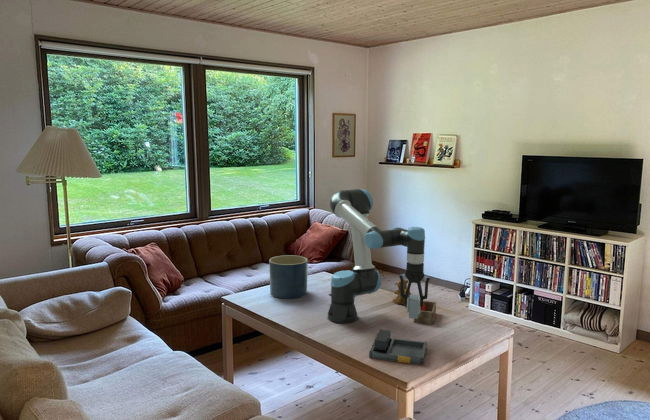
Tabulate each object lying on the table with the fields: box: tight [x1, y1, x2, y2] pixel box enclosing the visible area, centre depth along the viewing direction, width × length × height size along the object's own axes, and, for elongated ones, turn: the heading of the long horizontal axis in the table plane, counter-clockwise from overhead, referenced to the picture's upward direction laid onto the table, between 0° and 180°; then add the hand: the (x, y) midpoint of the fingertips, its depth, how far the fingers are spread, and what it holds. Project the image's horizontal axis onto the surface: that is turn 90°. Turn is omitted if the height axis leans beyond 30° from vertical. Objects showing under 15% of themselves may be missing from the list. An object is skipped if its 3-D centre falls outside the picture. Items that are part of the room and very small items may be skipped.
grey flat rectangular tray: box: [368, 328, 428, 366], centre depth 208 cm, size 22×18×7 cm
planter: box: [268, 254, 309, 300], centre depth 286 cm, size 22×22×20 cm
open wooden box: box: [413, 300, 437, 325], centre depth 250 cm, size 9×16×6 cm, turn 164°
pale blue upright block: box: [408, 294, 419, 320], centre depth 221 cm, size 4×12×7 cm, turn 170°
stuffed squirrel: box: [391, 279, 413, 307], centre depth 270 cm, size 10×14×13 cm
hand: (413, 312), depth 222 cm, fingers closed on pale blue upright block, 4 cm apart
